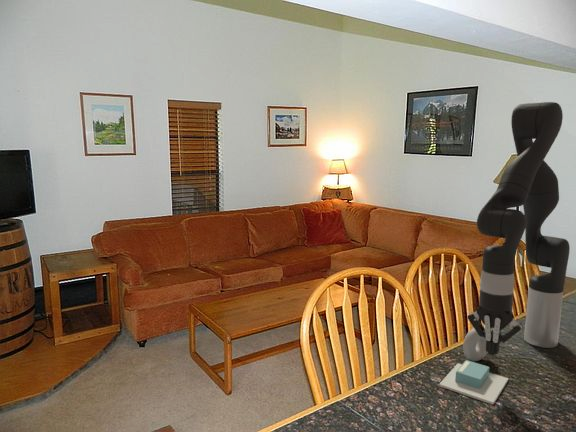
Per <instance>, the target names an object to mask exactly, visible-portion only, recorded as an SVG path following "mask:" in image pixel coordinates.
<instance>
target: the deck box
mask: <svg viewBox="0 0 576 432" xmlns="http://www.w3.org/2000/svg"><path fill="white" fill-rule="evenodd" d="M489 373H490V366H487V365H484V364H481V363H478V362H476V361H471V360H469V359H465V361H463V363H462V365H461V366H460V368H459V369H458V370H457V371H456V378H455V381H457V382H460V383H463V384H466V385H469V386H472V387H475V388H478V389H480V388H481V386H482V385H483V383H484V382H485V381H486V379H487V378H488V376H489Z"/></svg>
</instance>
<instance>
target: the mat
mask: <svg viewBox="0 0 576 432" xmlns="http://www.w3.org/2000/svg"><path fill="white" fill-rule="evenodd" d="M462 364H463V363H462ZM462 364H461V363H459V362H458V363H456V365H455V366H453V368H452V369H451V370H450V371H449V373H448V374H447V375H446V376H445V377H444V378H443V379H442V381H441V382H440V383H439V385H438V386H439V387H441V388H443V389H447V390H449V391H452V392H456V393H458V394H461V395H464V396H466V397H469V398H473V399H475V400H479V401H481V402H484V403H487V404H490V405H494V404H495V403H496V401H497V399H498V398H499V396H500V394H501V393H502V391H503V390H504V388H505V387H506V385H507V383H508V381H509V378H508V377H506V376H502V375H499V374H494V373H492V372H489V376H488V378H487V379H486V381H485V382H484V383H483V385H482V386H481V388H480V389H478V388H475V387H472V386H469V385H466V384H463V383H460V382H457V381H455V378H456V371H457V370H458V369H459V368H460V366H461V365H462Z"/></svg>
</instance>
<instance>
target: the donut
mask: <svg viewBox="0 0 576 432" xmlns="http://www.w3.org/2000/svg"><path fill="white" fill-rule="evenodd" d="M462 351H463V355H464V356H465V358H466V360H468V361H471V362H479V361H480V360H482V359H484V358H485V356H487V355H488V352H486V339H485V338H484V337H480V336H479V335H478V333H477V332H476V330H475V329H474V327H473V328H471V329H470V330H469V331H468V332H467V333H466V335H465V337H464V339H463V344H462Z"/></svg>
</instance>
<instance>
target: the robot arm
mask: <svg viewBox="0 0 576 432" xmlns="http://www.w3.org/2000/svg"><path fill="white" fill-rule="evenodd" d="M563 116H564V114H563V109H562V106H561V105H560V104H559V103H558V102H555V101H554V102H553V101H544V102H543V101H542V102H530V103H529V102H527V103H520V104H517V105H516V106H515V107H514V108H513V110H512V113H511V120H510V121H511V123H510V124H511V131H512V137H513V142H514V147H515V152H516V155H517V157H515V158H513V160H512V161H511V162H510V163H509V164H508V165H507V167H506V168H505V169H504V171H503V173H502V175H501V177H500V180H499V183H498V185H497V188H496V190H495V192H494V193H493V195H492V196H491V197H490V198H489V199H488V201H487V202H486V203H485V204H484V206H483V207H482V208H481V210H480V212H479V213H478V216H477V219H476V227H477V229H478V231H479V232H480V234H482V235H483V236H486V237H492V238H493V237H495V238H501V239H505V241H504V243H503V244H500V245H499V244H495V245H489V246H486V247H484V249H483V253H482V266H481V268H482V270H481V274H480V280H479V281H480V282H479V295H478V296H479V298H478V307H477V308H476V311H474V312H473V311H472V312H470V313H469V314H468V315H467V320H468V321H469V322H470V324H471V325H472V327H473V328H474V329H475V330H476V332H477V333H478V335H479V336H480V337H484V338H485V339H486V352H487V355H489V356H492V357H495V356H496V355H498V353H499V352H500V343H506V342H508V340H510V339H511V338H513V337H514V336H515V335H516V334H517V333H519V332H520V331H521V330H522V328H523V323H522V322H518V321H517V320H516V319H514V318H515V316H514V313H513V303H514V292H515V289H514V288H515V264H516V263H515V262H516V261H515V260H516V255H517V251H518V248H519V245H520V242H521V240H522V239H523V238H522V237H523V235H524V232H525V257H526V259H527V261H528V262H529V263H530V264H531V265H534V266H540V267H544V268H550V272H549V273H545V274H544V273H543V274H535V275H533V276H530V278H529V280H528V289H527V300H526V301H527V303H526V313H525V324H524V332H523V333H524V335H523V339H524V341H525V342H526V343H528V344H530V345H532V346H535V347H539V348H544V349H545V348H547V349H550V348H551V349H553V348H556V347H558V345H559V344H558V343H559V336H560V326H561V325H560V324H561V319H562V318H561V317H562V307H563V298H564V297H563V296H564V291H565V290H564V287H565V282H566V276H567V268H568V261H569V259H570V250H571V249H570V243H569V241H568V240H567V239H565V238H561V237H556V236H549V235H543V234H542V233H541V230H542V227H543V224H544V223H545V221H546V220H547V218H548V217H549V216H550V215H551V214H552V212H553V211H554V210H555V209H556V207H557V205H558V204H559V201H560V191H559V190H560V189H559V179H558V177H557V175H556V173H555V172H554V170H553V169H552V167H550V166H549V164H547V162H546V161H545V158H546V156H547V155H548V154H549V152H550V150H551V148H552V145H554V142H555V141H556V139H557V137H558V135H559V133H560V130H561V128H562V124H563ZM533 140H534V141H533ZM521 206H523V208H522V209H523V212H522V211H521V210H519V209H513V208H518V207H521ZM509 324H510V326H509V330H508V331H507V332H505V333H504V334H502V332H503V329H505V328H507V326H508V325H509Z"/></svg>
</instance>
